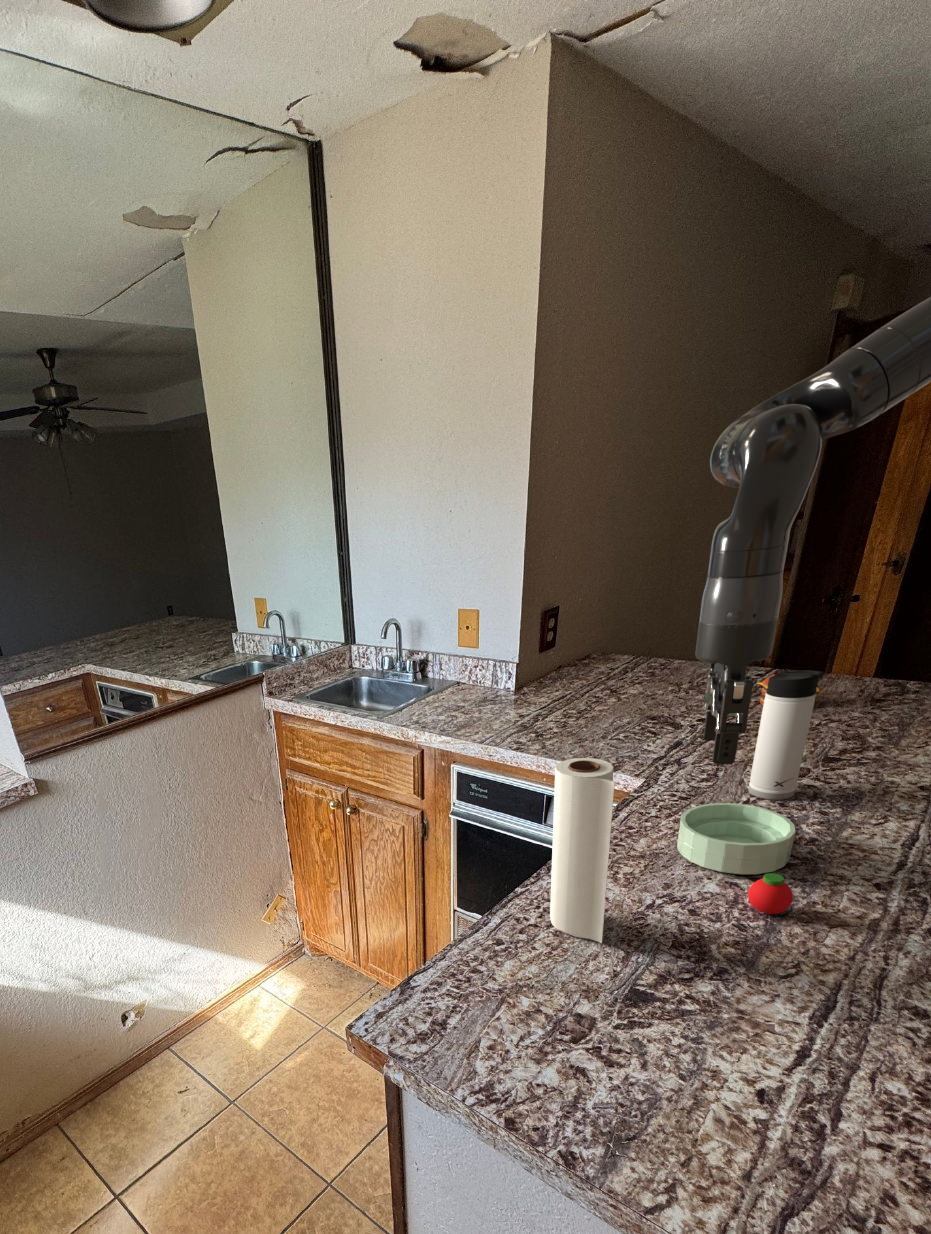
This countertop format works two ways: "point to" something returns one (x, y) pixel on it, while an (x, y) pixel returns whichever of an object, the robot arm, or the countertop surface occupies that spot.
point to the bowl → (736, 838)
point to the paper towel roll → (581, 846)
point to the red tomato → (770, 894)
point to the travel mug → (783, 733)
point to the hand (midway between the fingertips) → (717, 750)
